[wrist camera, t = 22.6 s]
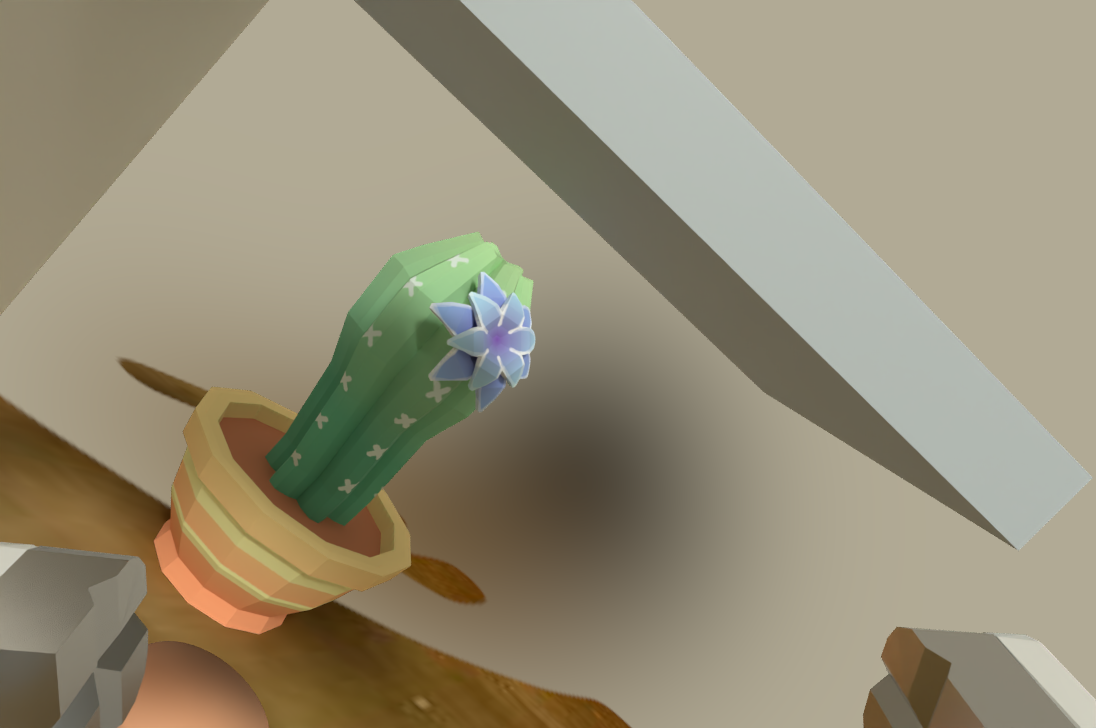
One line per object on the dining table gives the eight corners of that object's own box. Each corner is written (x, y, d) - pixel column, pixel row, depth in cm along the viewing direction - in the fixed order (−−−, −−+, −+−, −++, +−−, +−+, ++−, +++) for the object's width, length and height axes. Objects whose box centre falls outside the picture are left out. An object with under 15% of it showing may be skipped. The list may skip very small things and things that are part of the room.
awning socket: (40, 1678, 15) (1229, 536, 13) (-1435, 1009, 11) (-71, -851, 9) (289, 858, 35) (781, 344, 33) (-212, 504, 31) (312, -114, 28)
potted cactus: (39, 522, 40) (378, 138, 38) (184, 458, 55) (431, 182, 53) (275, 730, 41) (620, 363, 39) (354, 610, 56) (604, 343, 54)
